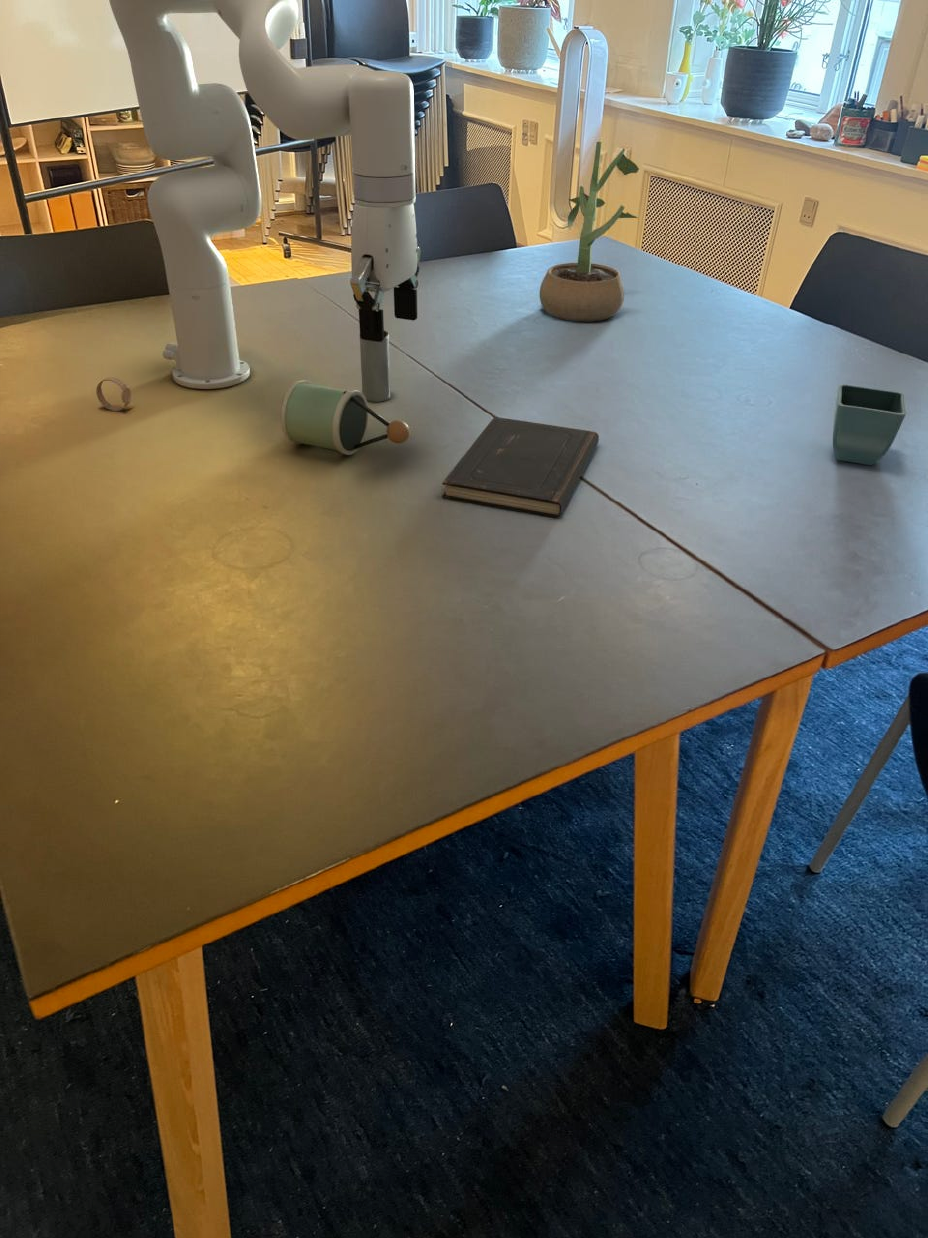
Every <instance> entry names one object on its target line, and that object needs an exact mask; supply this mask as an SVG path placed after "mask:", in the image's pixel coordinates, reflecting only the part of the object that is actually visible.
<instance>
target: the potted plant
mask: <svg viewBox="0 0 928 1238" xmlns="http://www.w3.org/2000/svg"><path fill="white" fill-rule="evenodd" d="M595 143H596V145H595V151H594V152H595V153H594V160H593V167H592V174H591V178H590V184H589V193H588V194H589V195H587V194H586V193H585V187H584V186H582V185H580V186H579V190H578V191H579V192H578V196H577V197H574V198H568V201H569V202H571V203H574V204H576V205H575V206H574V207H572V209H571V210H570V212H569V214H568V217H567V227H568V231H571V229H572V226H573V225H574V222H575V220H576V218H577V216H578V214H579V211H580V212H581V214H582V216H583V222H582V228H581V230H580V235H579V246H578V247H579V248H578V256H577V262H565V263H560V264H556V265H553V266H550V267H549V268H548V269H547V271H546V274H544V275H545V276H544V278H543V280H542V281H541V283H540V286H539V287H540V288H539V300H540V304H541V306H542V308H543V309H544V311H545V312H546V313H548V314H549V315H551V317H553V318H554V317H555V318H557V319H560V320H565V321H569V322H570V321H571V322H583V323H584V322H585V323H587V322H588V323H589V322H598V321H604V320H608V319H610V318H612V317H613V316H615V315H616V314H617V313H618V312H619V311H620V309H621V308H622V306H623V303H624V301H625V290H624V285H623V282H622V279H621V273H620V272H619V271H618V270H617V269H615V268H613V267H610V266H607V265H603V264H598V263H592V246H593V244H594V242H595V241H596V240H597V239H599V238H600V237H602V236H603V235H604V234H605V233H606V232H608V231H609V230H610V229H611V228H612V227H613V226H614V224H615V223H616V222H617V221H618V219H638V216H636V215H634V214H632V213H630V212H628V211H627V212H626V213H625V212H623V211H624V210H625V206H624V205H620V206H619V208H618V209H617V211H616V212H615V213H614V214H613V215H612V216H611V218H610V219H609V220H607V221H606V222H605V223H604V224H603V225H601V226H600V227H598V228H595V229H594V223H595V221H596V219H597V208H602V207H603V206H604V205H605V204H606V202H605V200H603V199H601V198H598V192H599V191H600V190H601V189H602V188H603V187H604V185H605V184H606V182H607V180H608V178H609V177H610V175H611V174H612V172H613V171H614V169H615V168H616V167H617V169H618V170H619V171H621V173H622V174H623V175H624V176H627V175H630V174H637V173H638V172H639V169H640V168H639V167H638V165H637V164H636V163H635V162H634V161H632V160H631V159H629V158H628V157H626V155H625V152H626V149H625V148H622V149H621V151H620V152H619V153H618V155H616V156H615V158H614V159H613V160H612V161H611V163H610V164H609V165H608V167H607V168H606V169H605V171H604V173H603V174H602V175H601V177H600V179H599V176H600V165H601V153H602V141H596V142H595Z"/></svg>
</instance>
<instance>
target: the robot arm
mask: <svg viewBox="0 0 928 1238" xmlns="http://www.w3.org/2000/svg"><path fill="white" fill-rule="evenodd" d="M108 1H109V5H110V8H111V12H112V14H113V17H114V20H115V22H116V25H117V28H118V29H119V32H120V35H121V37H122V39H123V43H124V45H125V47H126V50H127V54H128V58H129V62H130V63H129V64H130V68H131V73H132V78H133V83H134V88H135V94H136V98H137V103H138V106H139V107H138V108H139V113H140V118H141V123H142V127H143V131H144V135H145V139H146V141H147V145H148V147H149V148H150V150H151V152H152V154H154V155H155V156H156V157H157V158H160V159H162V160H166V161H185V160H193V159H199V158H201V159H202V158H208V157H211V158H212V161H213V165H211V166H204V167H203V166H202V167H194V168H187V169H179V170H175V171H171V172H167V173H164V174H162V175H160V176H158V177H157V178H155V179H154V181H153V182H152V183H151V184H150V185H149V188H148V191H147V206H148V211H149V214H150V217H151V220H152V224H153V226H154V229H155V232H156V236H157V238H158V241H159V245H160V246H159V247H160V249H161V254H162V258H163V263H164V270H165V275H166V281H167V287H168V294H169V299H170V306H171V313H172V319H173V325H174V331H175V338H176V343H171V342H168V343H166V345H165V347H164V348H165V349H164V350H163V352H162V358H163V359H166V360H170V361H171V360H172V361H174V364H175V367H174V368H173V369H172V379H173V381H174V382H175V383H176V384H178V385H180V386H182V387H185V388H189V389H198V390H215V389H224V388H228V387H232V386H235V385H237V384H240V383H243V382H244V381H246V380H247V379H248V378H249V377H250V374H251V369H250V365H249V364H248V363H247V362H246V361H244V360H241V359H240V355H239V348H238V338H237V330H236V322H235V315H234V307H233V306H234V305H233V298H232V291H231V282H230V274H229V268H228V265H227V262H226V260H225V258H224V256H223V254H222V253H221V252H220V251H219V250H218V248H217V247H216V246H215V244H214V243H213V242H212V239H211V237H214V236H217V235H221V234H227V233H231V232H236V231H241V230H244V229H248V228H250V227H252V226H253V225H255V224H256V223H257V221H259V218H260V217H261V213H262V191H261V183H260V177H259V170H258V169H259V168H258V163H257V155H256V148H255V142H254V134H253V130H252V123H251V119H250V115H249V112H248V110H247V107H246V104H245V103H244V101H243V99H242V98H241V96H240V94H238V93H237V91H235V89H233V88H232V87H230V86H229V85H226V84H224V83H218V82H217V83H216V82H215V83H213V82H212V83H211V82H210V83H198V82H197V79H196V74H195V71H194V70H195V69H194V63H193V58H192V53H191V50H190V48H189V45H188V43H187V41H186V39H185V38H184V36H183V34H182V33H181V31H180V30H179V29H178V27H177V26H176V25H175V23H174V22H173V21H172V20H171V19H170V18H169V17H168V16H167V15H170V14H211V13H213V14H214V13H215V14H217V16H219V18H220V19H221V20H222V21H223V23H224V24H225V25H226V26H227V27H228V28H229V29H230V31H231V32H232V33H233V34H234V35H235V37H236V38H237V39H238V40H239V41H238V61H239V67H240V71H241V72H240V73H241V76H242V79H243V83H244V85H245V88H246V92H248V95H249V96H250V98H251V99H252V101H253V102H254V104H255V105H256V106H257V107H258V109H260V111H261V112H262V113H263V114H264V115H265V116H266V118H267V119H268V120H269V121H270V122H271V124H273V125H274V127H276V129H277V130H279V131H280V133H283V134H284V135H285V136H287V137H289V138H291V139H293V140H295V141H313V140H319V139H328V138H335V137H347V136H350V149H351V151H350V152H351V167H352V168H351V169H352V189H353V203H354V205H353V208H352V209H353V210H352V216H351V218H352V219H351V233H350V234H351V235H350V241H351V242H350V266H351V268H350V269H351V278H350V280H349V284H350V287H351V289H352V290H351V291H352V293H353V295H352V296H353V300H354V301H355V306H356V307H355V308H356V309H357V310H358V323H359V324H358V326H359V338H360V337H361V339H363V340H369V341H376V342H382V341H383V340H384V331H385V327H384V326H385V324H384V322H385V321H384V309H382V308H381V306H382V305H381V304H382V301H383V299H384V295H385V292H388V291H390V290H392V289H393V308H394V309H393V312H394V318H396V319H399V320H407V321H414V322H415V321H416V320H417V319H418V287H419V279H418V275H419V272H420V266H419V264H420V260H421V259H420V258H421V253H422V251H421V248H420V247H419V246H418V239H417V238H418V237H417V224H416V213H415V212H416V211H415V205H414V204H415V203H416V197H417V196H416V159H415V158H416V157H415V156H416V155H415V152H416V151H415V104H414V102H415V101H414V99H415V98H414V85H413V81H412V80H411V78H410V76H409V75H407V74H406V73H404V72H401V71H395V70H375V69H372V68H371V67H367V66H365V65H361V64H355V63H347V64H330V65H315V66H304V67H303V66H301V67H296V66H294V65H293V64H292V63H291V62H290V61H288V60H287V58H286V57H285V56H284V55H283V54H282V52H280V50H281V49H283V48H284V46H285V45H286V44H287V43H288V42H289V41H290V39H291V37H292V36H293V34H294V32H295V30H296V27H297V24H298V19H299V5H298V2H297V0H108ZM370 292H371V293H374V296H372V295H371V293H370Z"/></svg>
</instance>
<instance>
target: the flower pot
mask: <svg viewBox="0 0 928 1238" xmlns="http://www.w3.org/2000/svg"><path fill="white" fill-rule="evenodd" d="M905 405H906V404H905V394H904V393H903V392H901V391H894V390H888V389H879V388H873V387H866V386H859V385H852V384H843V383H840V384H839V385H838V390H837V395H836V402H835V407H834V414H833V427H832V429H833V430H832V448H833V452H834V456H835V459H836V460H838V461H843V462H849V463H854V464H861V465H867V466H874V465H875V464H876V463H878V462H879V461H880V460H881V459H883V457H884V456H885V455H886V454H887V453H888V451H889V450H890V449H891V447H892V445H893V443H894V441H895V439H896V437H897V435H898V433H899V431H900V428H901V426H902V424H903V421H904V419H905V417H906V415H907V412H906V407H905Z"/></svg>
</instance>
